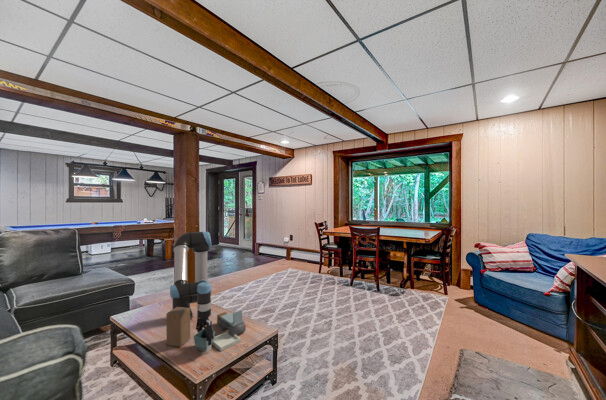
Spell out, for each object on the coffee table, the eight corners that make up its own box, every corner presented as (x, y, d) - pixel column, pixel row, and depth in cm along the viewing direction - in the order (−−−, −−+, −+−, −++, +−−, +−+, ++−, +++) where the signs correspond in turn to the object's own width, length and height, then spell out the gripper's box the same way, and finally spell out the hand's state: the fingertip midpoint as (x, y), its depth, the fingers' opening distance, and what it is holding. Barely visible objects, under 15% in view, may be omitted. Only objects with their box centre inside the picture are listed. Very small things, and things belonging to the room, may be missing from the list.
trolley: (218, 327, 175) (218, 305, 175) (230, 323, 182) (230, 301, 182) (233, 338, 162) (233, 314, 162) (245, 333, 169) (245, 310, 168)
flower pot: (205, 354, 146) (205, 338, 146) (193, 351, 149) (193, 336, 149) (215, 345, 155) (215, 331, 155) (203, 343, 158) (203, 328, 157)
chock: (217, 324, 180) (217, 314, 180) (224, 321, 185) (224, 311, 184) (220, 327, 177) (220, 317, 177) (228, 323, 181) (228, 314, 181)
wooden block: (180, 347, 153) (180, 314, 152) (165, 345, 155) (165, 313, 154) (191, 338, 163) (190, 307, 162) (177, 336, 165) (176, 306, 164)
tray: (210, 342, 158) (210, 338, 158) (229, 333, 168) (229, 330, 168) (220, 351, 149) (220, 347, 149) (240, 341, 159) (240, 338, 159)
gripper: (189, 305, 157) (190, 341, 157) (207, 317, 141) (207, 357, 141) (201, 301, 162) (202, 336, 163) (219, 313, 146) (220, 351, 147)
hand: (204, 346), depth 152 cm, fingers closed on flower pot, 10 cm apart
